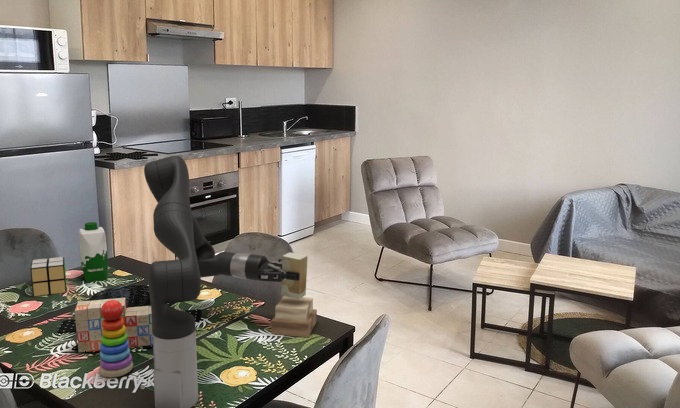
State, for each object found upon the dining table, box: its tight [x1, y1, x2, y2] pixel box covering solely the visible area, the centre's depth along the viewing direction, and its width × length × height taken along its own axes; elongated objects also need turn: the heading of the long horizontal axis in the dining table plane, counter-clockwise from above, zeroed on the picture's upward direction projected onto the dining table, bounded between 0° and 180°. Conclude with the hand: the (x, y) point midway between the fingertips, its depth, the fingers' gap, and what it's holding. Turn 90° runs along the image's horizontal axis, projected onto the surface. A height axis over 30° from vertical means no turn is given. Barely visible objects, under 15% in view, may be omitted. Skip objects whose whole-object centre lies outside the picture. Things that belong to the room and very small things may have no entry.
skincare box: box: [280, 251, 309, 299], centre depth 167 cm, size 6×4×12 cm
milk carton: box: [78, 221, 109, 283], centre depth 207 cm, size 9×9×20 cm
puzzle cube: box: [29, 256, 67, 298], centre depth 196 cm, size 10×10×10 cm
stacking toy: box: [98, 300, 134, 378], centre depth 142 cm, size 8×8×19 cm
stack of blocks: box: [74, 297, 153, 353], centre depth 157 cm, size 21×6×12 cm, turn 105°
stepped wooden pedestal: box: [270, 295, 318, 338], centre depth 170 cm, size 11×11×8 cm
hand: (302, 273), depth 166 cm, fingers closed on skincare box, 5 cm apart
